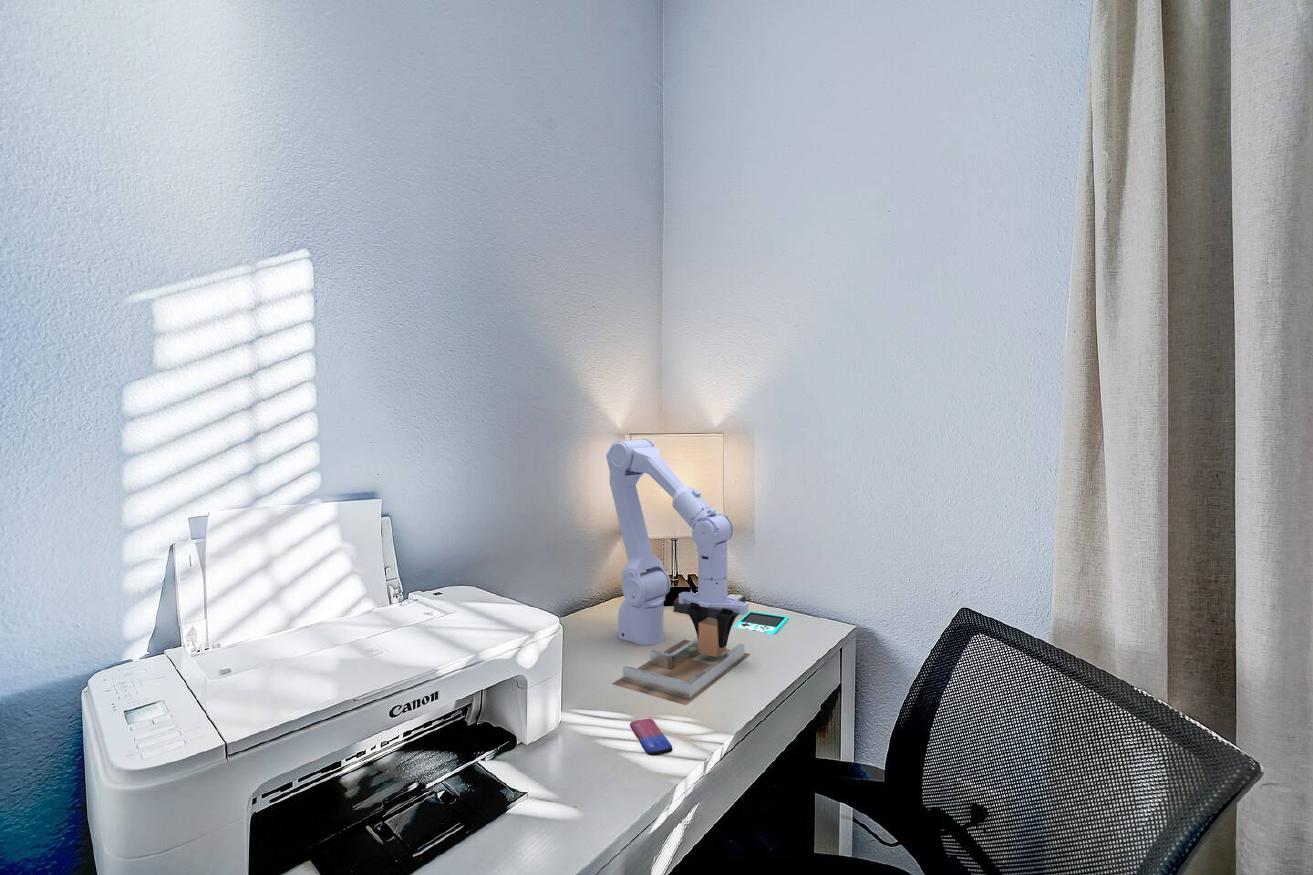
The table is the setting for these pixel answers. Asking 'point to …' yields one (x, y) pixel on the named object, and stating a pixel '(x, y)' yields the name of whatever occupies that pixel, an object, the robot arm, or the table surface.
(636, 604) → the robot arm
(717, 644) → the block
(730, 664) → the outer rail
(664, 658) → the inner rail
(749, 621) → the handheld game console
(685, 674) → the track board
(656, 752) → the eraser
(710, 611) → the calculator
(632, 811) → the table surface
